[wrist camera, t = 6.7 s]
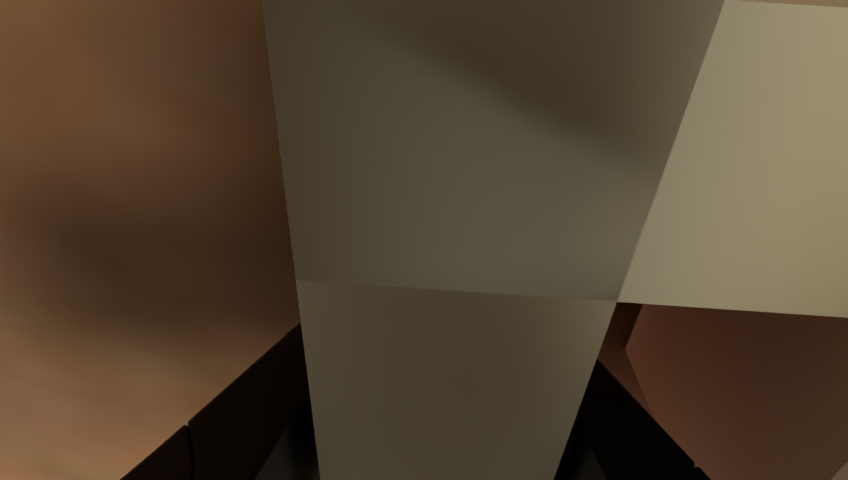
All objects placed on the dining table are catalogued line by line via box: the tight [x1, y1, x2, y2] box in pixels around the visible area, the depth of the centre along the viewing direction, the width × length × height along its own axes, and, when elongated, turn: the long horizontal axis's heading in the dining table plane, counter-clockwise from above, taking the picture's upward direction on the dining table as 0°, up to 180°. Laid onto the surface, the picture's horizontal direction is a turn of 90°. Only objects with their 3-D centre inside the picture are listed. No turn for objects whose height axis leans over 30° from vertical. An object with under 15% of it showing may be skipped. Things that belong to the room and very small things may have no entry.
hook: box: [261, 0, 848, 480], centre depth 8 cm, size 12×14×4 cm
